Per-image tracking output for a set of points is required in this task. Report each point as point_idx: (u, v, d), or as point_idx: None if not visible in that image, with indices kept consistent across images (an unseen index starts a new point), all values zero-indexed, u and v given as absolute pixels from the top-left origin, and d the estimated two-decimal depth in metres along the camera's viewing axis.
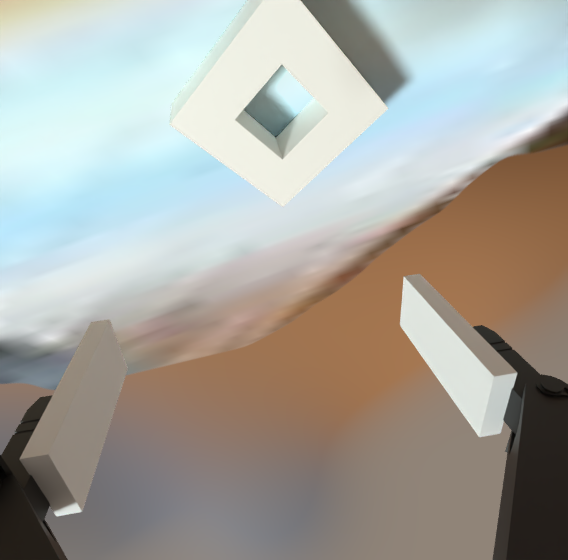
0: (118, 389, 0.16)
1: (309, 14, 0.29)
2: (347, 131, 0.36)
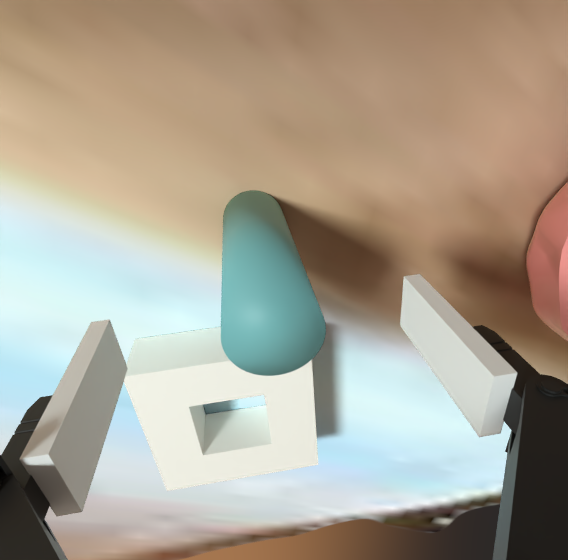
0: (118, 389, 0.16)
1: (311, 379, 0.30)
2: (275, 463, 0.35)
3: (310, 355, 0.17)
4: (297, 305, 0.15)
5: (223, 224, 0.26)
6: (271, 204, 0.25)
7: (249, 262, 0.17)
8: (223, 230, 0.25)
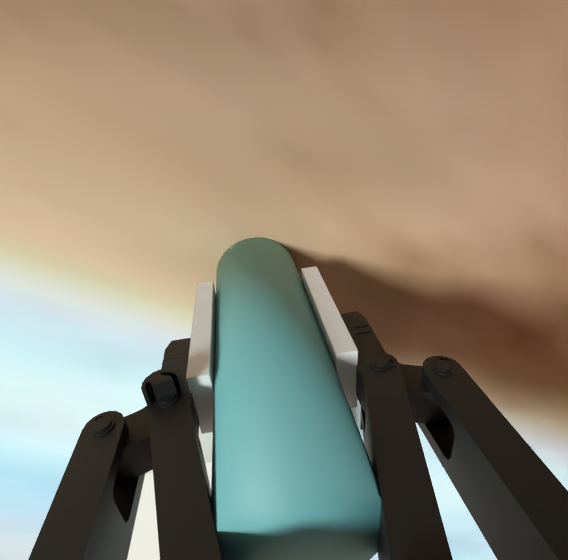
0: None
1: None
2: None
3: (361, 559, 0.10)
4: (347, 500, 0.09)
5: (216, 286, 0.19)
6: (282, 260, 0.18)
7: (257, 395, 0.11)
8: (216, 298, 0.18)
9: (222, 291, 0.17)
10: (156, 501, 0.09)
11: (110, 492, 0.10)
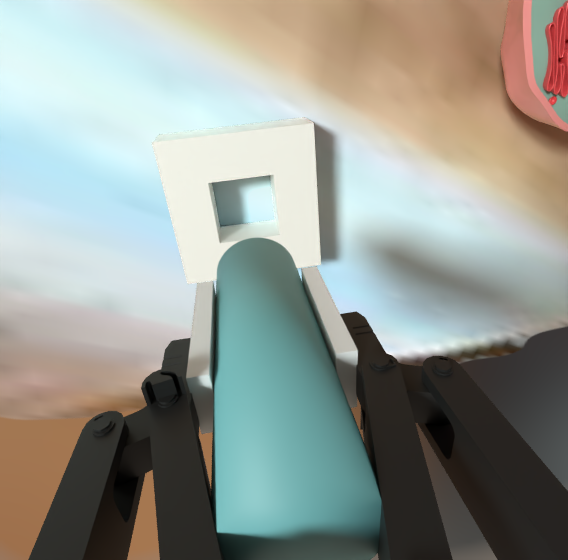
0: None
1: (314, 160, 0.35)
2: None
3: (362, 559, 0.10)
4: (348, 501, 0.09)
5: (216, 286, 0.19)
6: (282, 260, 0.18)
7: (258, 395, 0.10)
8: (216, 298, 0.18)
9: (222, 291, 0.17)
10: (156, 501, 0.09)
11: (110, 492, 0.10)
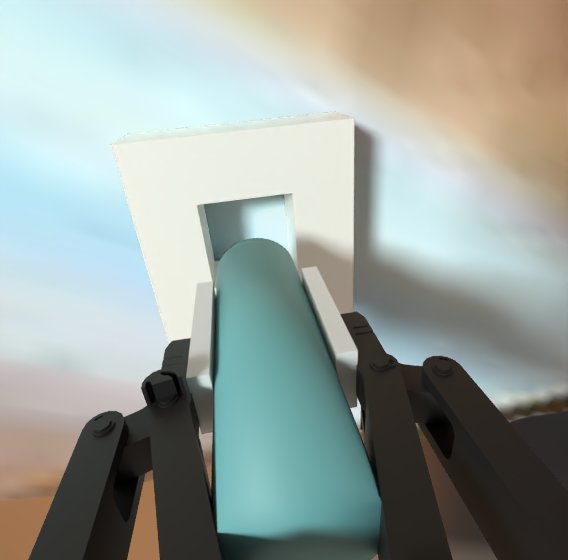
0: None
1: (351, 172, 0.24)
2: None
3: None
4: (348, 502, 0.09)
5: (216, 287, 0.19)
6: (282, 261, 0.18)
7: (257, 396, 0.11)
8: (216, 298, 0.18)
9: (222, 292, 0.17)
10: (156, 501, 0.09)
11: (110, 492, 0.10)
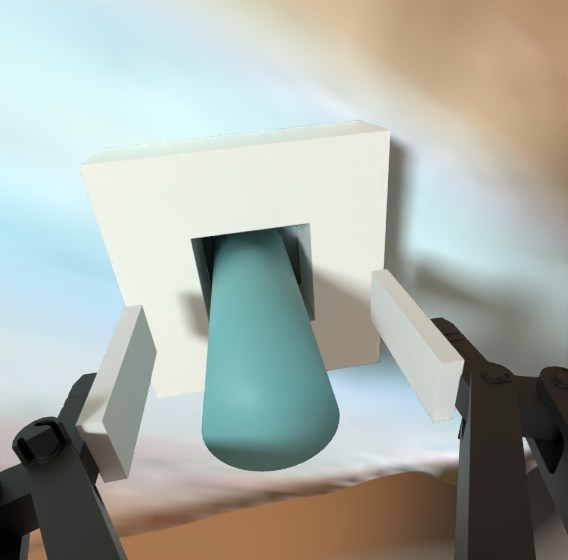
0: (150, 370, 0.17)
1: (384, 197, 0.19)
2: None
3: (318, 446, 0.13)
4: (303, 390, 0.12)
5: (214, 257, 0.22)
6: (270, 234, 0.22)
7: (241, 324, 0.14)
8: None
9: (218, 258, 0.20)
10: None
11: None
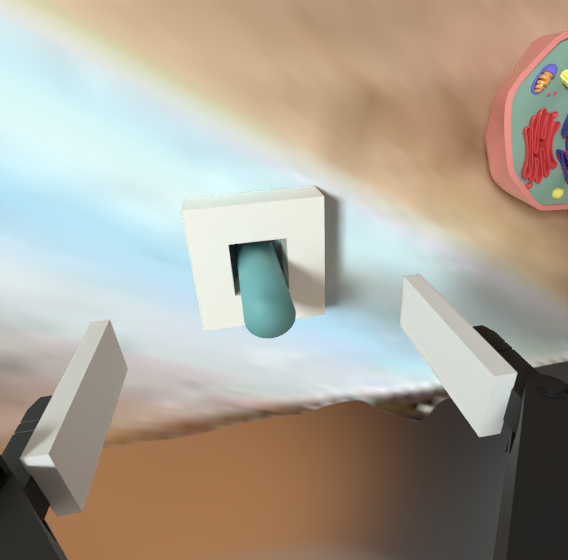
0: (118, 389, 0.16)
1: (323, 226, 0.39)
2: None
3: (288, 327, 0.33)
4: (282, 301, 0.32)
5: (237, 254, 0.42)
6: (267, 243, 0.42)
7: (257, 280, 0.33)
8: (238, 259, 0.41)
9: (241, 255, 0.40)
10: None
11: None
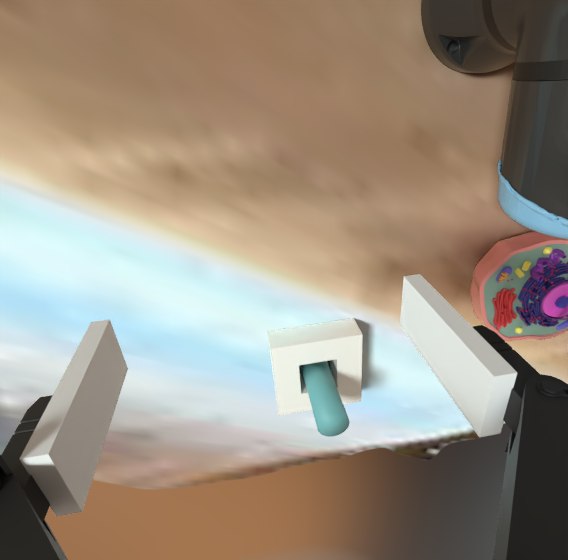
0: (118, 389, 0.16)
1: (361, 351, 0.59)
2: None
3: (344, 429, 0.53)
4: (341, 416, 0.51)
5: (302, 365, 0.62)
6: None
7: (323, 399, 0.53)
8: (303, 370, 0.61)
9: (306, 369, 0.60)
10: None
11: None
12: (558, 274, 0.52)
